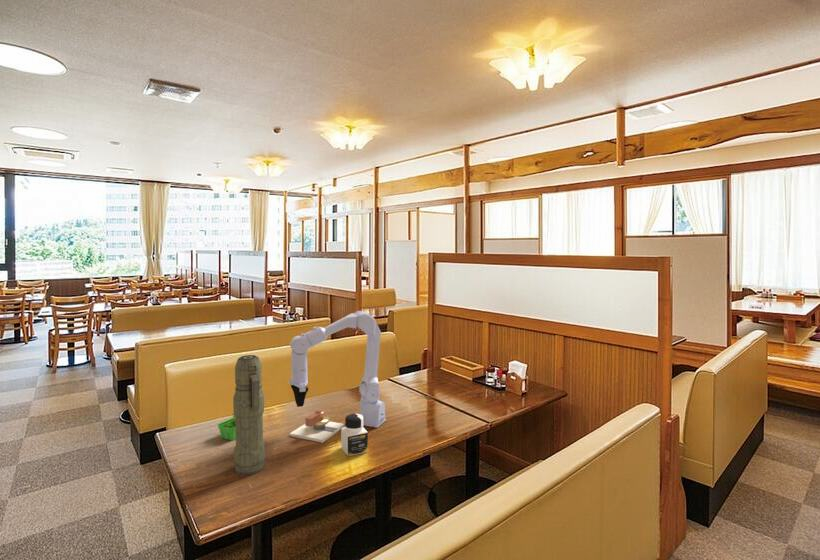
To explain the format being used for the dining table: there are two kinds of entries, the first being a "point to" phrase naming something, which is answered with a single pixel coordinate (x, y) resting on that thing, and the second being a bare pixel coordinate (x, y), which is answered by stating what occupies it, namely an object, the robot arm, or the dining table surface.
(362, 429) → the medicine bottle
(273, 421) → the dining table surface
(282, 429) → the dining table surface
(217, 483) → the dining table surface
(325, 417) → the lever handle
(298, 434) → the board
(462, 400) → the dining table surface
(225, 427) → the fruit basket
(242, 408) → the thermos
